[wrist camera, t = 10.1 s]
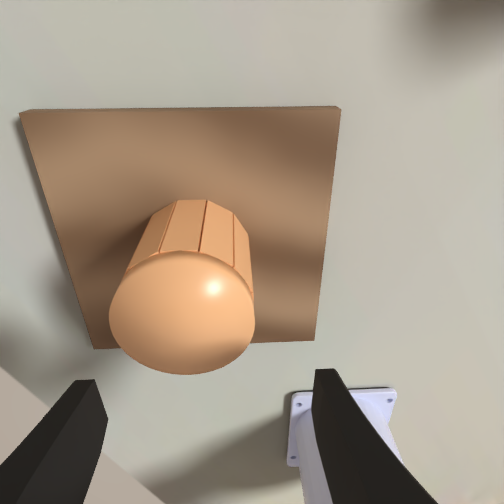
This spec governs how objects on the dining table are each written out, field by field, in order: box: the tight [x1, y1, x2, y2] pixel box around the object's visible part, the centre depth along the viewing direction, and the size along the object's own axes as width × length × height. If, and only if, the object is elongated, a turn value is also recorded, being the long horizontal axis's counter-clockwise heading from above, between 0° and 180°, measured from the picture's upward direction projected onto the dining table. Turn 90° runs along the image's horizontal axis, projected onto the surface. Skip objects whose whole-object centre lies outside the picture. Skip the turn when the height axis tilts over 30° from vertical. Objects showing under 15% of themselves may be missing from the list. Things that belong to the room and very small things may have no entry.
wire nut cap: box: [109, 200, 255, 375], centre depth 16 cm, size 6×6×6 cm
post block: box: [19, 106, 341, 349], centre depth 18 cm, size 14×14×5 cm
